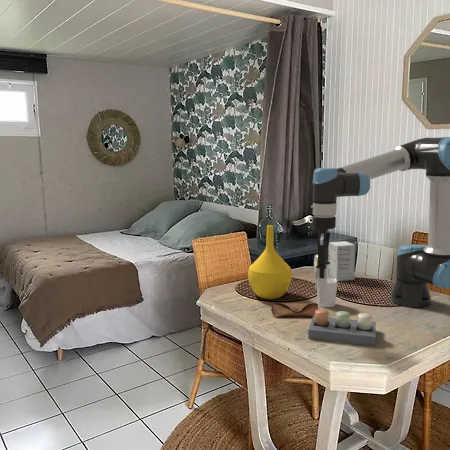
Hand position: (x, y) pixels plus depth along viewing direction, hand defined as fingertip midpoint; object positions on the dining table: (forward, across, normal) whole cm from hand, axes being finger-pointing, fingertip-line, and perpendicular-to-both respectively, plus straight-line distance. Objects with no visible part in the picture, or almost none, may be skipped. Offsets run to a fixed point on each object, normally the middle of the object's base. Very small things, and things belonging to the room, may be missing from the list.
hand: (322, 285), depth 156 cm
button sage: (+13, 0, +7) cm, 15 cm away
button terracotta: (+13, 0, 0) cm, 13 cm away
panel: (+17, 0, +7) cm, 18 cm away
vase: (+17, -33, -25) cm, 45 cm away
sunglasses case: (+17, -14, -11) cm, 25 cm away
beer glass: (+17, -48, -5) cm, 51 cm away
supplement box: (+17, -67, +2) cm, 69 cm away
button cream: (+13, 0, +14) cm, 19 cm away
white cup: (+17, -28, -1) cm, 33 cm away
